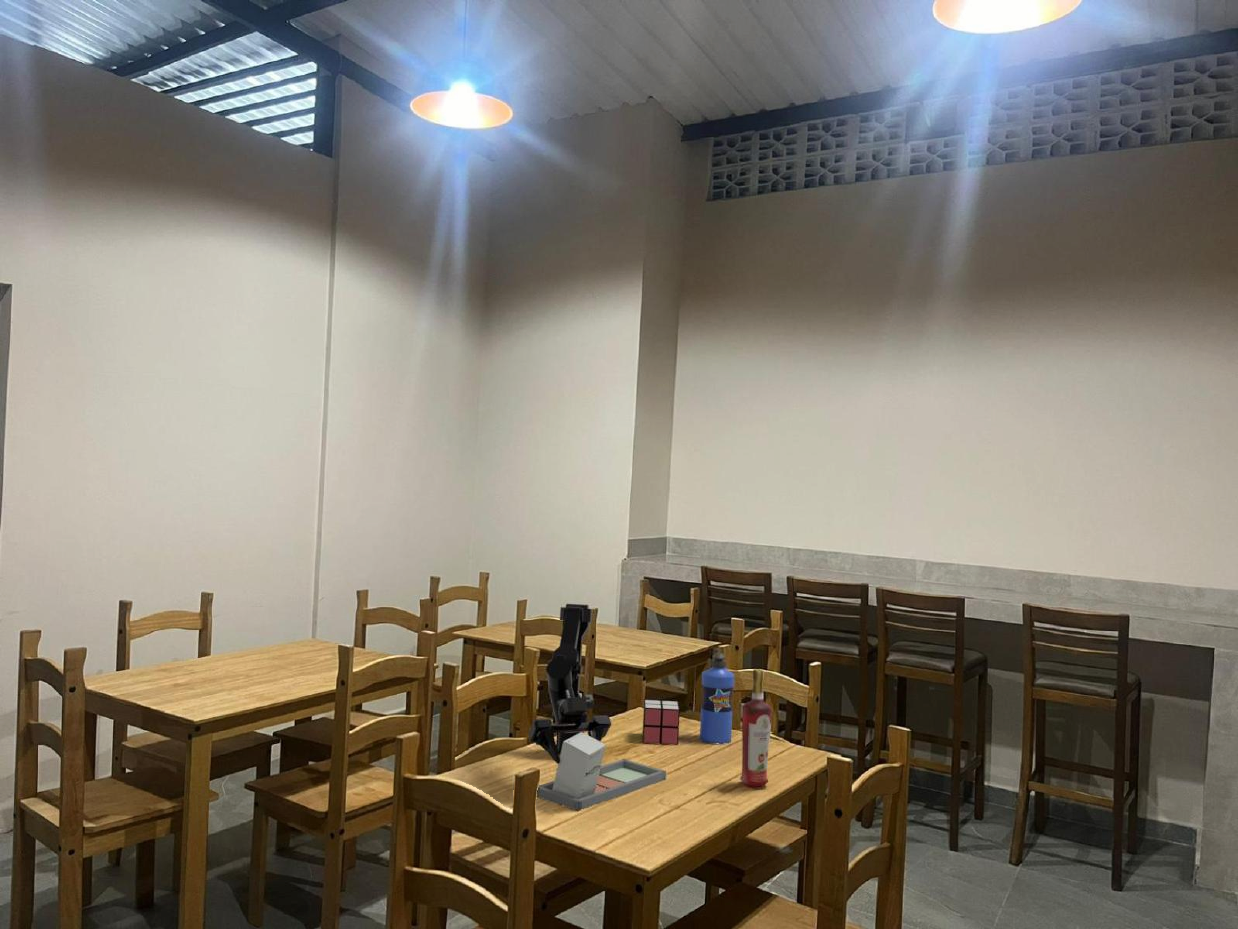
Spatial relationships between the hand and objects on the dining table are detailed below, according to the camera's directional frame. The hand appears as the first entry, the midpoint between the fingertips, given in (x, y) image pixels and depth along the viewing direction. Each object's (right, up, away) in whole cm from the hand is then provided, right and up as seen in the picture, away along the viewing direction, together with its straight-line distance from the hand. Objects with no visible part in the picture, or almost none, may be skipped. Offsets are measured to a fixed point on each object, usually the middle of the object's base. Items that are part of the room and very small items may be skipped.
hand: (578, 761), depth 203 cm
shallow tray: (+5, -9, +10) cm, 14 cm away
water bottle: (+37, -13, +56) cm, 68 cm away
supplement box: (-1, -8, +1) cm, 8 cm away
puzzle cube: (+21, -12, +54) cm, 59 cm away
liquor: (+42, -12, +17) cm, 47 cm away
